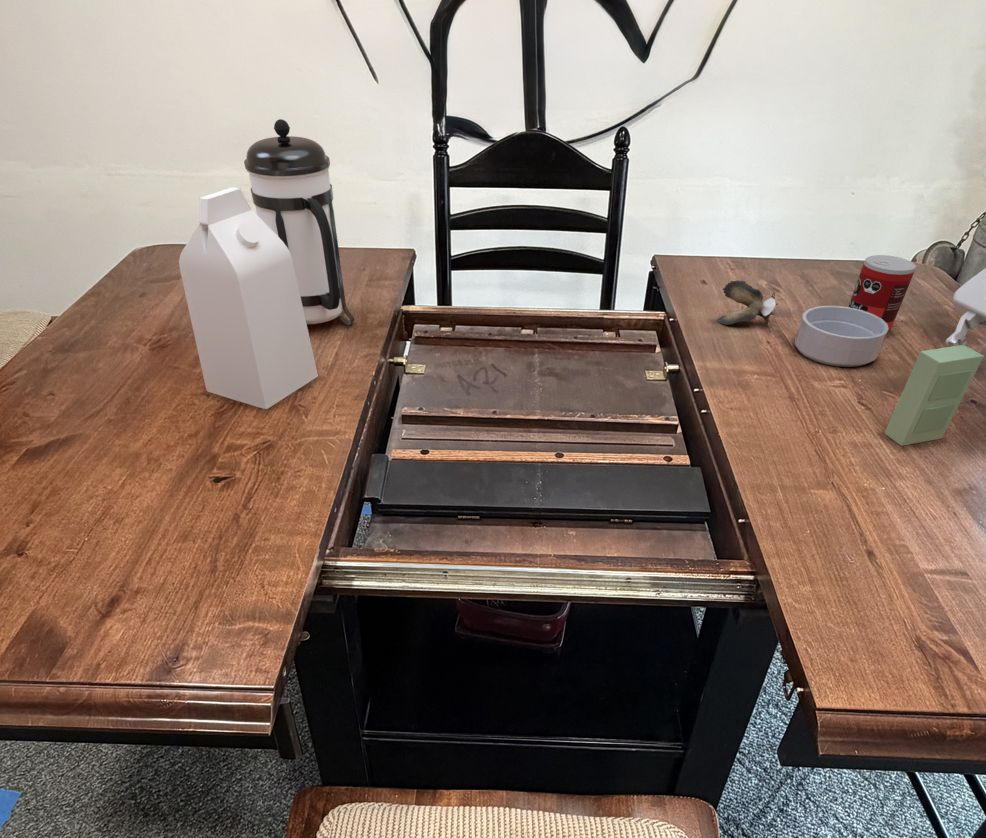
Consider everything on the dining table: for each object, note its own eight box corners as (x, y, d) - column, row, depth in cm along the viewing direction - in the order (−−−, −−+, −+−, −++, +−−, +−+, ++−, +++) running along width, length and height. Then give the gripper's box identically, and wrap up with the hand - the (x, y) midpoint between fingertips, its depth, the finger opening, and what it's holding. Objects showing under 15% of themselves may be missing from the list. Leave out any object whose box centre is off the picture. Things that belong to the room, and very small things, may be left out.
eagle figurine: (764, 305, 130) (717, 294, 129) (784, 280, 123) (735, 268, 122) (760, 341, 128) (713, 330, 128) (780, 318, 121) (730, 306, 121)
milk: (260, 360, 114) (219, 177, 96) (318, 376, 110) (286, 188, 92) (206, 391, 106) (150, 198, 88) (266, 409, 102) (220, 211, 85)
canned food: (839, 317, 129) (861, 253, 122) (885, 321, 128) (911, 256, 121) (845, 333, 124) (869, 268, 116) (894, 338, 123) (921, 272, 115)
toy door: (883, 433, 99) (919, 350, 91) (923, 426, 101) (963, 344, 93) (901, 446, 97) (940, 362, 89) (943, 438, 99) (985, 356, 90)
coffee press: (251, 334, 121) (204, 127, 100) (294, 300, 132) (260, 107, 112) (344, 347, 118) (315, 135, 97) (381, 311, 129) (362, 114, 108)
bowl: (872, 340, 122) (883, 311, 119) (880, 373, 113) (892, 342, 110) (792, 330, 125) (801, 301, 121) (794, 362, 116) (803, 332, 112)
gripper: (1004, 233, 93) (913, 316, 97) (1153, 287, 79) (1039, 382, 83) (1013, 266, 97) (925, 344, 102) (1156, 322, 83) (1047, 411, 87)
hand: (977, 362), depth 92 cm, fingers open, 8 cm apart
